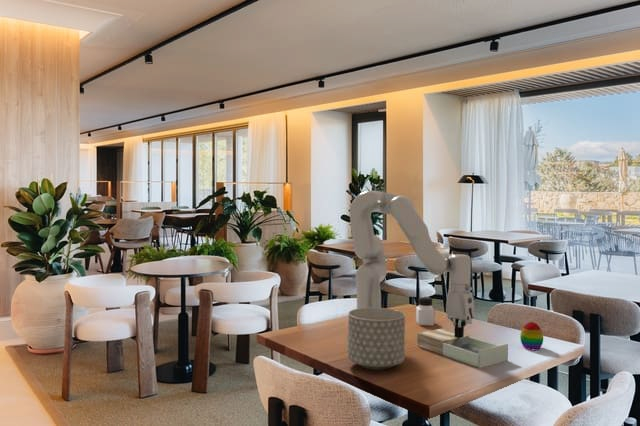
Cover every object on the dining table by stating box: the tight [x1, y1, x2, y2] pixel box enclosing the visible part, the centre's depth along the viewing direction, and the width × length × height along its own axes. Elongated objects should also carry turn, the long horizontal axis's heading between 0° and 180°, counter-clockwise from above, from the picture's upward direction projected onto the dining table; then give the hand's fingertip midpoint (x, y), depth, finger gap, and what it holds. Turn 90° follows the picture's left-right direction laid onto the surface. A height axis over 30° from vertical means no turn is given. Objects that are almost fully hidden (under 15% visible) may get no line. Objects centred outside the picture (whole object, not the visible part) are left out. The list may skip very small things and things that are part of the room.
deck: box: [417, 328, 470, 356], centre depth 198 cm, size 14×13×5 cm
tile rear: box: [455, 337, 473, 348], centre depth 190 cm, size 5×5×2 cm
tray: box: [442, 336, 509, 369], centre depth 185 cm, size 15×17×6 cm
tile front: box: [461, 346, 480, 354], centre depth 186 cm, size 5×5×2 cm
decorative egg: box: [519, 321, 544, 350], centre depth 198 cm, size 8×8×10 cm
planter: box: [347, 307, 406, 371], centre depth 175 cm, size 19×19×18 cm
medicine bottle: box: [415, 296, 436, 326], centre depth 235 cm, size 7×7×12 cm
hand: (459, 336), depth 191 cm, fingers closed
